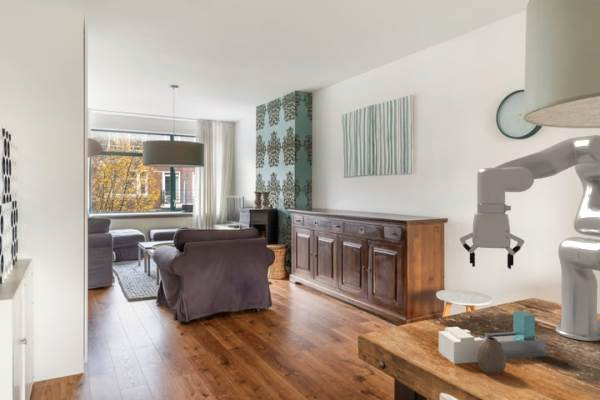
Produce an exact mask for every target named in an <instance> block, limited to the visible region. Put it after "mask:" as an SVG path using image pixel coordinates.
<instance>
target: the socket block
mask: <svg viewBox="0 0 600 400" xmlns="http://www.w3.org/2000/svg"><path fill="white" fill-rule="evenodd" d="M471 333H472V332H471V331H470V330H469V329H462V328H460V327H458V326H449V327H444V330H440V331H438V353H439V354H441V355H442V356H443V357H445V358H446V359H447V360H448V361H449V362H450V363H452V364H453V365H455V364H457V365H458V364H459V365H460V364H468V363H470V364H471V363H478V361H477V352H478V349H479V347H480V346H481V345H482V344H483V343H484V340H483V337H481V336H480V337H475V336H473V335H472V334H471Z"/></svg>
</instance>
